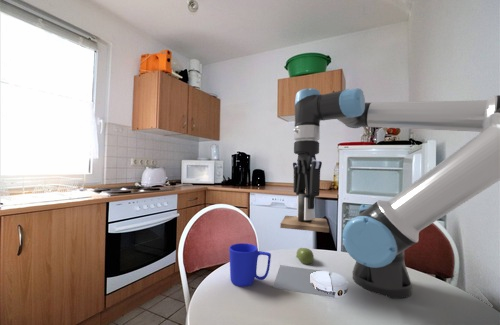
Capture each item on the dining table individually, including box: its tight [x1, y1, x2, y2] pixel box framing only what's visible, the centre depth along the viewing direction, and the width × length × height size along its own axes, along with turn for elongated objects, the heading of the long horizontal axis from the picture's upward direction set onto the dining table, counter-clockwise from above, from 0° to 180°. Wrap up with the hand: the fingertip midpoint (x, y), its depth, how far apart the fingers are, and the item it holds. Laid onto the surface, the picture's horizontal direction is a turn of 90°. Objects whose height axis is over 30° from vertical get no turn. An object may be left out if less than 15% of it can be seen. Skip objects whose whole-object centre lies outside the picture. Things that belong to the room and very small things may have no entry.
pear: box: [295, 247, 315, 265], centre depth 84 cm, size 6×5×10 cm
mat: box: [272, 264, 335, 299], centre depth 68 cm, size 16×16×1 cm
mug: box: [228, 242, 272, 288], centre depth 66 cm, size 8×12×10 cm
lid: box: [280, 194, 330, 233], centre depth 69 cm, size 13×13×9 cm
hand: (304, 218), depth 69 cm, fingers closed on lid, 4 cm apart
